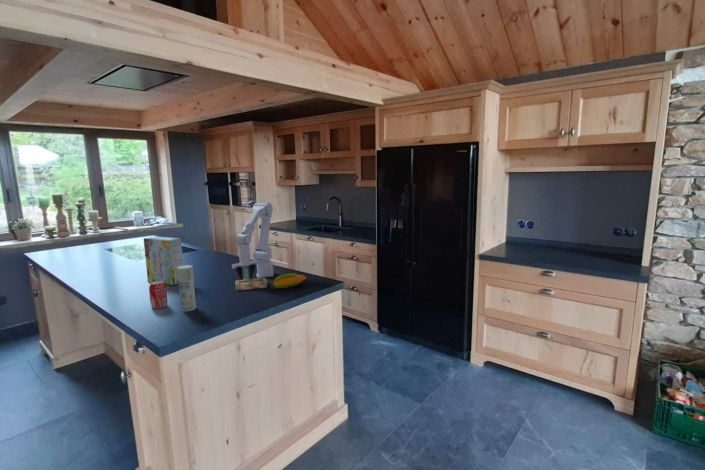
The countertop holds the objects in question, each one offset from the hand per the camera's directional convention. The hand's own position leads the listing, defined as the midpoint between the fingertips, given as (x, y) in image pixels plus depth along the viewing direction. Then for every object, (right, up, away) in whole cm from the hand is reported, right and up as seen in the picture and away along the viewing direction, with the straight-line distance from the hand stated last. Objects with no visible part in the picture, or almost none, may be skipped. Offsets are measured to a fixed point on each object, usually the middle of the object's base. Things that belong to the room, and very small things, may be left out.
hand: (246, 278), depth 209 cm
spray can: (-16, -10, -38) cm, 42 cm away
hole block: (+5, -4, -6) cm, 9 cm away
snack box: (-48, -3, +6) cm, 48 cm away
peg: (0, -2, 0) cm, 2 cm away
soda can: (-31, -9, -35) cm, 47 cm away
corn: (+25, -4, -5) cm, 26 cm away
